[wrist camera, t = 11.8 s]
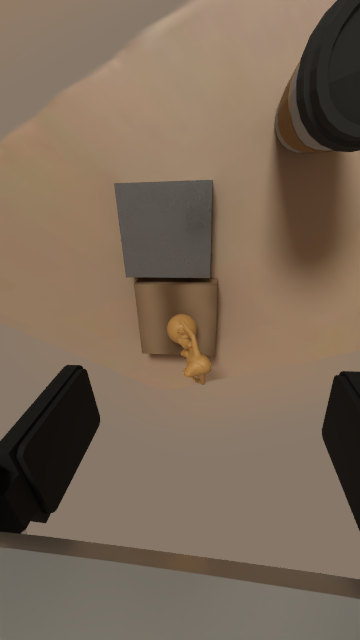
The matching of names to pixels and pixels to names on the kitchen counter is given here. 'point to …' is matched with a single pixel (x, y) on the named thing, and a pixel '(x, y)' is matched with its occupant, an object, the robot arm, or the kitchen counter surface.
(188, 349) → the figurine
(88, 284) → the kitchen counter surface
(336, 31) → the coffee cup
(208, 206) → the grey metal stand
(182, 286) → the walnut stand
